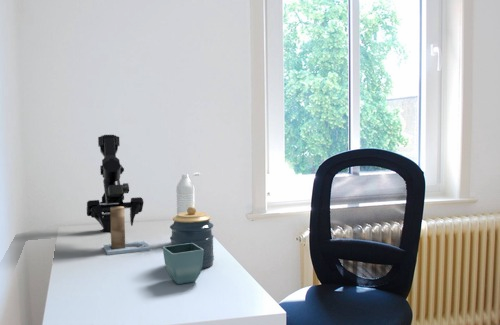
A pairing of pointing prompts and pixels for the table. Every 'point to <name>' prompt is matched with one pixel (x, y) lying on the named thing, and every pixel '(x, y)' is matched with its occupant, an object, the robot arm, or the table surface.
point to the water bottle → (185, 193)
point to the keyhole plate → (128, 250)
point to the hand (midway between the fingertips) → (118, 226)
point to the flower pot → (183, 262)
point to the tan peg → (117, 227)
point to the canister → (194, 232)
